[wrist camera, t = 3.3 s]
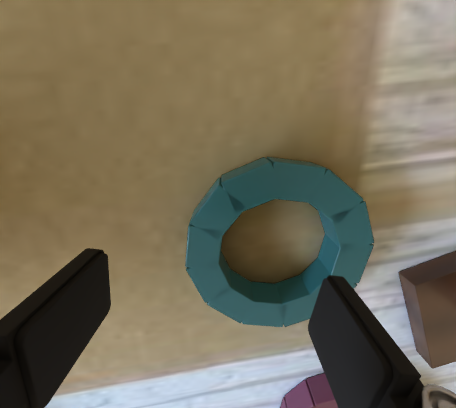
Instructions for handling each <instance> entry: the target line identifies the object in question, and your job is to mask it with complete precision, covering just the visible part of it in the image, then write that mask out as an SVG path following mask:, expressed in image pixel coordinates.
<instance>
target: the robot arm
mask: <svg viewBox="0 0 456 408" xmlns="http://www.w3.org/2000/svg"><path fill="white" fill-rule="evenodd" d="M110 306H111V300H110V285H109V269H108V256H107V254H104V251H103V250H99V249H90V248H87V249H85V250H84V251H83V252H82V253H80V254H79V255H78V256H77V257H76V258H74V259H73V260H72V261H71V262H69V263H68V264H67V265H66V266H65V267H63V268H62V269H61V270H60V271H59V272H57V273H56V274H55V275H54V276H53V277H51V278H50V279H49V280H48V281H47V282H45V283H44V284H43V285H42V286H41V287H39V288H38V289H37V290H36V291H35V292H33V293H32V294H31V295H30V296H28V297H27V298H26V299H25V300H24V301H22V302H21V303H20V304H19V305H18V306H16V307H15V308H14V309H13V310H12V311H10V312H9V313H8V314H7V315H6V316H4V317H3V318H2V319H1V320H0V408H44V407H45V406H46V405H47V404H48V403H49V401H50V400H51V398H52V397H53V395H54V394H55V392H56V391H57V389H58V388H59V386H60V385H61V383H62V382H63V380H64V379H65V377H66V376H67V374H68V373H69V371H70V370H71V368H72V367H73V365H74V364H75V362H76V361H77V359H78V358H79V356H80V355H81V353H82V352H83V350H84V349H85V347H86V346H87V344H88V343H89V341H90V340H91V338H92V336H93V335H94V333H95V332H96V330H97V329H98V327H99V326H100V324H101V323H102V321H103V320H104V318H105V317H106V315H107V314H108V312H109V310H110ZM308 331H309V335H310V337H311V340H312V342H313V345H314V347H315V350H316V352H317V355H318V357H319V360H320V363H321V365H322V368H323V370H324V373H325V375H326V378H327V380H328V383H329V385H330V388H331V390H332V393H333V396H334V398H335V401H336V403H337V406H338V408H456V394H455V393H454V392H452V391H450V390H448V389H446V388H444V387H441V386H438V385H434V384H428V385H426V386H424V385H423V384H422V383H421V381H420V380H419V379H420V377H421V375H420V374H419V372H418V371H417V370H416V369H415V367H414V366H413V365H412V363H411V362H410V361H409V360H408V358H407V357H406V356H405V354H404V353H403V352H402V351H401V349H400V348H399V347H398V346H397V344H396V343H395V342H394V340H393V339H392V338H391V337H390V335H389V334H388V333H387V331H386V330H385V329H384V328H383V326H382V325H381V324H380V322H379V321H378V320H377V319H376V317H375V316H374V315H373V314H372V312H371V311H370V310H369V308H368V307H367V306H366V305H365V303H364V302H363V301H362V299H361V298H360V297H359V296H358V294H357V293H356V292H355V290H354V289H353V288H352V287H351V285H350V284H349V283H348V282H347V280H346V279H345V278H344V277H342V276H333V275H329V276H328V277H327V278H324V279H323V281H322V284H321V287H320V290H319V293H318V297H317V300H316V303H315V306H314V309H313V312H312V315H311V318H310V321H309V324H308Z"/></svg>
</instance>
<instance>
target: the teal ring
mask: <svg viewBox="0 0 456 408" xmlns="http://www.w3.org/2000/svg"><path fill="white" fill-rule="evenodd" d="M273 199H281V200H290V201H299V202H307V203H309V204H311V205H312V206H313V207H314V208H316V209H317V210H318V211H319V215H320V218H321V222H322V225H323V228H324V232H325V236H324V239H323V242H322V245H321V249H320V252H319V255H318V258H317V259H316V260H315V261H314V262H313V263H312V264H311V265H310V266H309V267H307V268H306V269H305V270H304V271H303V272H302V273H301V274H300V275H298V276H295V277H293V278H290V279H287V280H284V281H281V282H278V283H276V284H273V283H261V282H250V281H249V280H247V279H245V278H244V277H242V276H241V275H239V274H237V273H236V272H234V271H233V270H231V269H230V268H229V266H228V264H227V262H226V260H225V258H224V256H223V254H222V252H221V245H222V237H223V235H224V234H225V232H226V231H227V230H228V229H229V228H230V226H231V225H232V224H233V223H234V222H235V220H236V219H237V218H238V217H239V216H240V214H241V213H242V212H243V211H246V210H248V209H251V208H253V207H256V206H258V205H261V204H263V203H266V202H268V201H271V200H273ZM372 243H374V239H373V234H372V230H371V225H370V220H369V216H368V211H367V206H366V202H365V201H363V198H362V197H361V196H360V195H358V194H357V193H356V192H355V191H354V190H353V189H352V188H350V187H349V186H348V185H347V184H346V183H345V182H343V181H342V180H341V179H340V178H339V177H338V176H337V175H335V174H334V173H333V172H332V171H331V170H329V169H327V168H325V167H322V166H320V165H317V164H314V163H311V162H305V161H297V160H289V159H281V158H273V157H267V158H264V157H263V158H261V159H258V160H256V161H254V162H251V163H249V164H246V165H244V166H242V167H239V168H237V169H235V170H232V171H230V172H228V173H225V174H223V175H222V177H221V178H220V177H219V178H218V179H217V180H216V182H215V183H214V184H213V186H212V187H211V188H210V190H209V191H208V192H207V194H206V195H205V196H204V198H203V199H202V200H201V202H200V203H199V204H198V206H197V207H196V208H195V210H194V212H193V214H192V217H191V220H190V223H189V226H188V237H187V251H186V264H185V266H186V267H187V268H186V271H187V272H188V274H189V276H190V277H191V279H192V281H193V283H194V284H195V286H196V288H197V290H198V291H199V293H200V295H201V296H202V298H203V300H204V302H205V303H206V302H207V305H209V306H210V307H212V308H214V309H216V310H217V311H219V312H221V313H223V314H225V315H226V316H228V317H230V318H232V319H233V320H235V321H237V322H239V323H241V322H242V323H243V324H248V325H261V326H274V327H283V324H284V326H285V327H286V326H289V325H292V324H296V323H299V322H302V321H305V320H308V319H310V318H311V315H312V312H313V309H314V306H315V303H316V300H317V297H318V293H319V290H320V287H321V284H322V281H323V279H324V278H327V277H328V276H329V275H333V276H342V277H344V278H345V279H346V280H347V282H348V283H349V284H350V285H351V287H352V288H353V289H354V288H355V287H356V286H357V284H356V283H359V282H360V279H361V277H362V274H363V272H364V269H365V266H366V264H367V261H368V259H369V256H370V254H371V251H372V249H373V246H374V245H373V244H372Z"/></svg>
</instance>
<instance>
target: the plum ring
mask: <svg viewBox="0 0 456 408" xmlns="http://www.w3.org/2000/svg"><path fill="white" fill-rule="evenodd" d="M280 408H338V406H337V403H336V401H335V398H334V396H333V393H332V390H331V388H330V385H329V383H328V380H327V378H326V375H325V373H323V374H320V375H316V376H313V377H310V378H307V380H303V381H302V382H301V383H300V384H298V385H297V386H296V387H295V388H294V389H292V390H291V391H290V392H289V393H287V394H286V395H285V397H283V400H282V404H281V407H280Z"/></svg>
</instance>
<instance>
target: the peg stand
mask: <svg viewBox="0 0 456 408" xmlns="http://www.w3.org/2000/svg"><path fill="white" fill-rule="evenodd" d="M398 273H399V277H400V281H401V286H402V290H403V294H404V299H405V303H406V307H407V311H408V316H409V320H410V324H411V329H412V333H413V337H414V342H415V346H416V350H417V352H418V353H419V354H420V355H421V356H422V358H423V359H424V360H425V361H426V362H427V363H428V364H429V365H430V367H431V368H436V367H439V366H442V365H446V364H449V363H452V362H455V361H456V251H455V252H452V253H449V254H447V255H444V256H441V257H438V258H436V259H433V260H430V261H427V262H425V263H422V264H419V265H417V266H414V267H411V268H408V269H406V270H403V271H400V272H398Z"/></svg>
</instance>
